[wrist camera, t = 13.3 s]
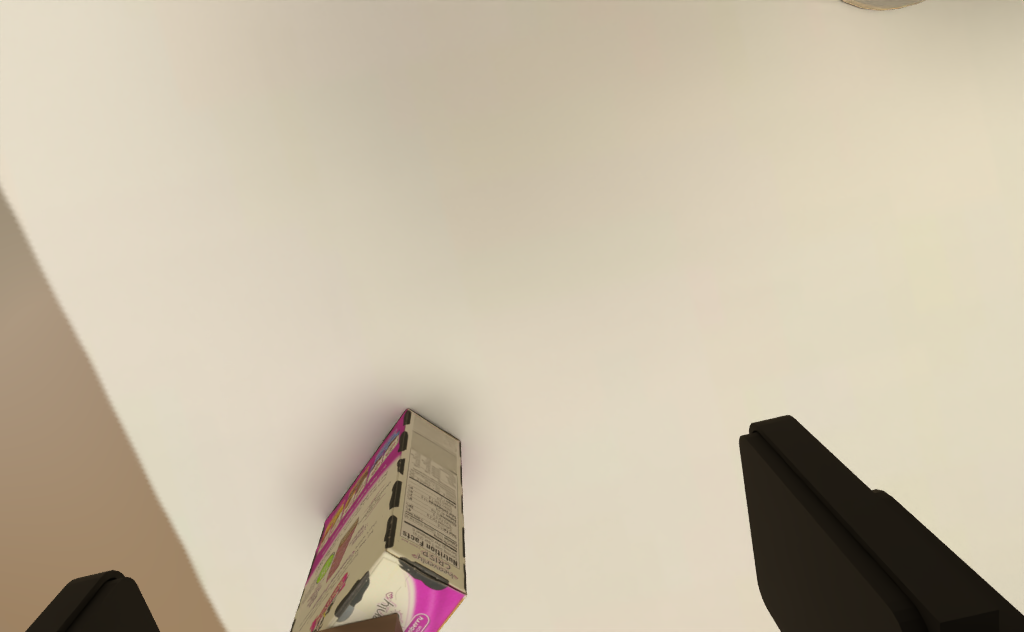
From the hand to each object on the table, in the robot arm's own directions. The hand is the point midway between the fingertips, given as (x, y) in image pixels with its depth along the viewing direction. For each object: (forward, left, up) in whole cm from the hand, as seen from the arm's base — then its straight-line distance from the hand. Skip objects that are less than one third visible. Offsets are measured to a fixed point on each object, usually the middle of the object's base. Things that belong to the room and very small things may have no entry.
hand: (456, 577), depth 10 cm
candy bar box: (+8, +17, -34) cm, 39 cm away
